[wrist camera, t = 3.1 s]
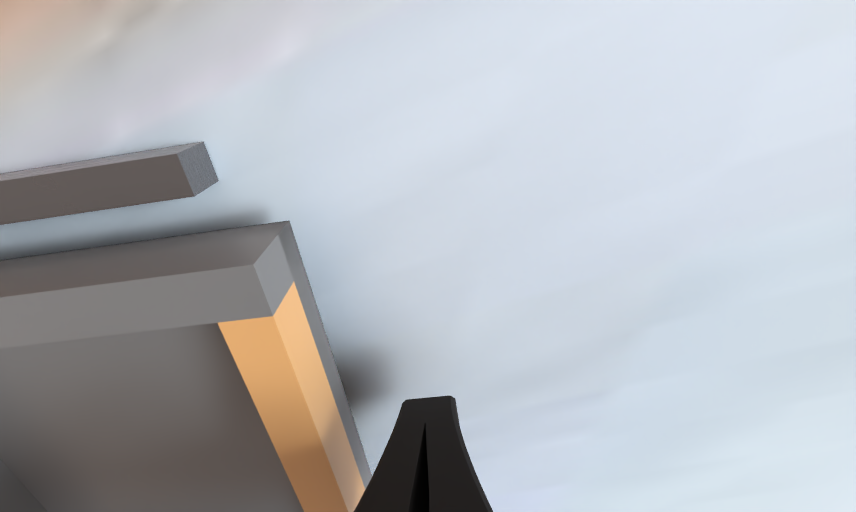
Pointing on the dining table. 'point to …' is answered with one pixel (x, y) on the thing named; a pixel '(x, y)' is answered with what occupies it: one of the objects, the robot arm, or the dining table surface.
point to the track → (105, 183)
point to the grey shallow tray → (172, 381)
